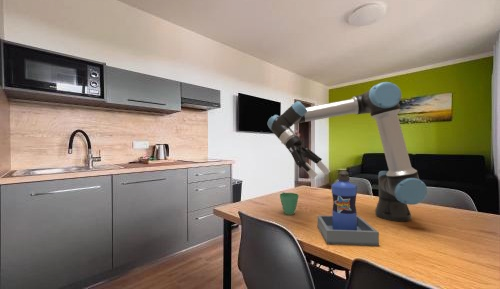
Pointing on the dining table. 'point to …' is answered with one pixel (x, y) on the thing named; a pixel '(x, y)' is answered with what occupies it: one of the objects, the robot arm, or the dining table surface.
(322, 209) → the dining table surface
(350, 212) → the blue plastic bottle
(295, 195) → the mug
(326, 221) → the tray
